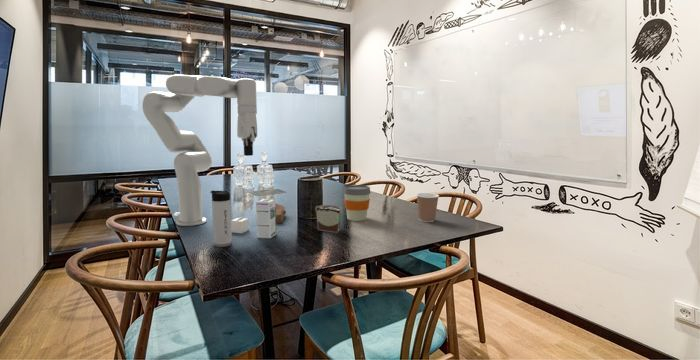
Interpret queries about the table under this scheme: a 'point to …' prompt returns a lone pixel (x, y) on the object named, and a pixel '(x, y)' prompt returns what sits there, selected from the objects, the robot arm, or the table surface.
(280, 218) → the wooden toy blocks
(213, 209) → the travel mug
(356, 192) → the reusable coffee cup
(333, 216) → the food container
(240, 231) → the white block
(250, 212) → the table surface
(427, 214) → the coffee cup
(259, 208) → the syrup box
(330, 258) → the table surface
